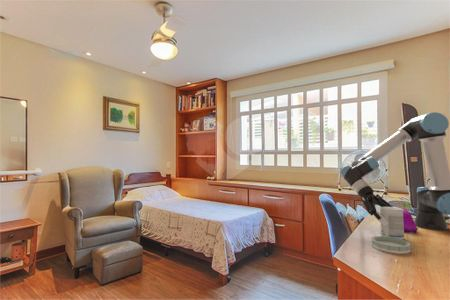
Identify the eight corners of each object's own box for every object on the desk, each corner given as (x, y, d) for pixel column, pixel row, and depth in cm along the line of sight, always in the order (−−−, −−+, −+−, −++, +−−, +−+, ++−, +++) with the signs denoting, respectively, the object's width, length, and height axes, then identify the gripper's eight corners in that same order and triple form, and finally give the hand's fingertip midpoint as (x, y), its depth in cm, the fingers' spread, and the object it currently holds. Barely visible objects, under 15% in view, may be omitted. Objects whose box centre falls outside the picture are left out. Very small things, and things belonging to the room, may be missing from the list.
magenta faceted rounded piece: (418, 234, 129) (417, 205, 130) (393, 231, 135) (392, 203, 136) (416, 229, 139) (415, 202, 139) (392, 226, 145) (391, 200, 145)
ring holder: (392, 242, 116) (392, 235, 117) (419, 253, 103) (418, 245, 103) (365, 243, 115) (364, 236, 115) (388, 254, 101) (388, 247, 101)
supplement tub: (407, 238, 122) (406, 208, 122) (399, 242, 116) (398, 210, 117) (386, 233, 130) (385, 205, 130) (377, 237, 124) (376, 207, 125)
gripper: (370, 192, 144) (400, 224, 131) (344, 195, 132) (373, 230, 118) (380, 184, 140) (411, 215, 127) (353, 186, 128) (385, 221, 114)
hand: (393, 223), depth 122 cm, fingers open, 13 cm apart
